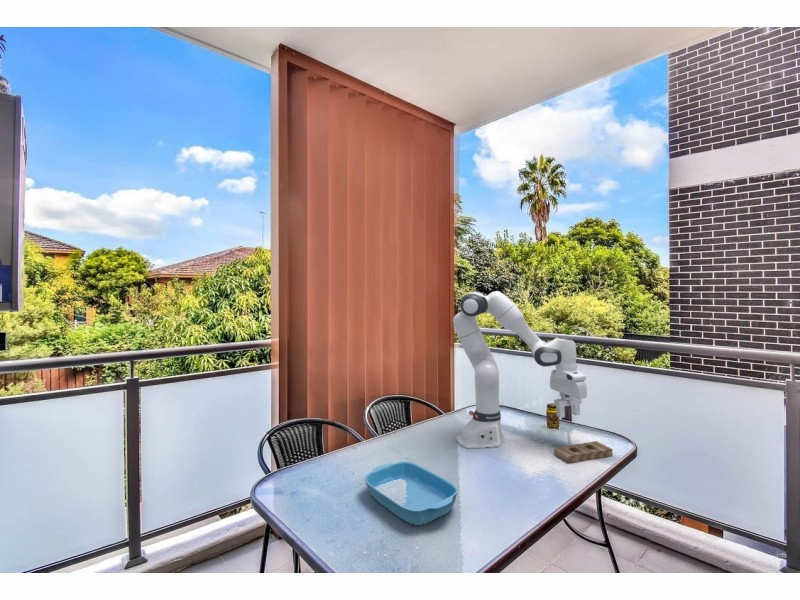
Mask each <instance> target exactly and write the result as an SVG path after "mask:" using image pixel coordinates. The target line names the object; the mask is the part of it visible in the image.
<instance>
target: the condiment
mask: <svg viewBox="0 0 800 600" xmlns="http://www.w3.org/2000/svg"><path fill="white" fill-rule="evenodd" d="M545 415H546V424H547V428H549V429H559V427H560V418H559V417H557V410H556V406H555V405H554V403H547V404H546V414H545ZM542 427H543V428H545V427H544V426H542ZM547 428H546V429H547ZM549 429H548V430H549ZM562 429H563V427H562V428H561V429H559V430H562Z"/></svg>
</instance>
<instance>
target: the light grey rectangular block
mask: <svg viewBox="0 0 800 600" xmlns="http://www.w3.org/2000/svg"><path fill="white" fill-rule="evenodd" d="M568 401H570V396H569V397H566V398H563V399H562V398H558V399H554V400H553V404H554V405H555V406H556V410H557V417H559V419H561V418H563V419H564V418H566V408H565V407H568V406H569V407H570V405H569V404H568ZM582 402H583V401H582V399H578V398H576V399H575V401H574V405H573V406H571V415H573V416H580V415H581V404H582Z"/></svg>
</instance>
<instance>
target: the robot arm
mask: <svg viewBox="0 0 800 600" xmlns="http://www.w3.org/2000/svg"><path fill="white" fill-rule="evenodd" d="M459 306H460V310H461V311H460V312H458V313H457V314H455V315H454V317H453V318H452V320H453V321H452V322H453V326H454V330H455V333H456V335H457V337H458V340H459V342H460V344H461V346H462V349H463V350H464V352H465V355H466V356H467V358H468V359H469V362H470V363H471V365H472V368H473V370H474V389H475V390H474V391H475V392H474V394H475V410H474V411H473V410H469V411H468V415H469V416H472V418H471V419H469V421H467V422H466V423H465V424H464V425H463V426H462V428H461V430H460V435H457V436H456V442H457V443H458V444H459V445H460V446H461V447H463V448H465V449H470V450H471V449H473V450H474V449H485V448H486V447H489V448H499V447H501V445H502V443H504V441H505V438H504V436H503V431H502V425H501V420H502V417H501V416H502V414H501V410H500V371H499V369H498V368H499V367H498V364H497V362H496V359H495V358H494V357H493V356H494V355H493V354H492V351H491V350H490V347H489V346H488V343H487V342H486V339H485V337H484V335H483V333H482V331H481V328H480V327H479V324H478V322H477V316H479V315H482V314H485V313H489V314H490V315H492V317H493V318H494V319H495V320H496V321H497V323H499V324H500V325H501V326H502V327H503V328H504V329H506V330H508V331H509V332H510V331H511V332H512V333H514V334H516V335H518V337H519V338H521V340H522V341H523V342H524V343H525V344H526V346H528V348H529V349H530V351H531V355H532V357H533V359H534V360H535V362H536V364H537V365H539V366H541V367H551V366H555V369H552V370H551V372H550V376H549V387H550V389H551V390H553V391H556V392H559V397H560V399H563V398H567V397H566V395H567V396H569V397H570V401H568V404H569V406H571V407H572V406H573V405H574V401H575V399H576V398H578V399H581V400H582V399H586V398H587V396H588V391H587V389H588V387H587V382H586V381H585V380H587V376H586V374H585V373H583V372H582V371H580V370H579V369H578V365H577V362H576V360H577V356H578V355H577V347H576V343H575V341H574V339H572V338H570V337H565V336H557V337H556V336H555V338H554V339H553V340H550V341H549V342H548V341H545V340H543V339H541V338H540V337H539V335H537V334H536V333H535V332H534V331H533V330H532V328H530V326H529V325H528V323H527V322H526V319H525V316H524V315H523V313H522V311H521V310H520V308H518V306H517V305H516V304H515V303H514V302H513V300H511V299H510V298H509V297H508V296H506V295H505V294H504V293H502V292H501V291H499V290H496V291H492V292H490V293H489V294H487V295H485V294H484V293H482V292H481V291H479V290H477V291H476V290H473V291H471V292H467V293H466V294H465V295H464V296H463V297H462V298H461V300H460V304H459Z"/></svg>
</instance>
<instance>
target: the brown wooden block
mask: <svg viewBox="0 0 800 600" xmlns="http://www.w3.org/2000/svg"><path fill="white" fill-rule="evenodd" d="M553 456H555V457H556V458H558V460H559V459H560V460H561V461H562V462H564V463H566V464H567V465H569V464H574V463H581V462H586V460H587V461H592V459H593V460H598V459H602V458H608V457H613V448H611V447H609V446H607V445H605V444H603V443H601V442H599V441H597V440H596V441H589V442H583V443H576V444H570V445H565V446H563V445H562V446H556V447H554V448H553Z"/></svg>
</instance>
